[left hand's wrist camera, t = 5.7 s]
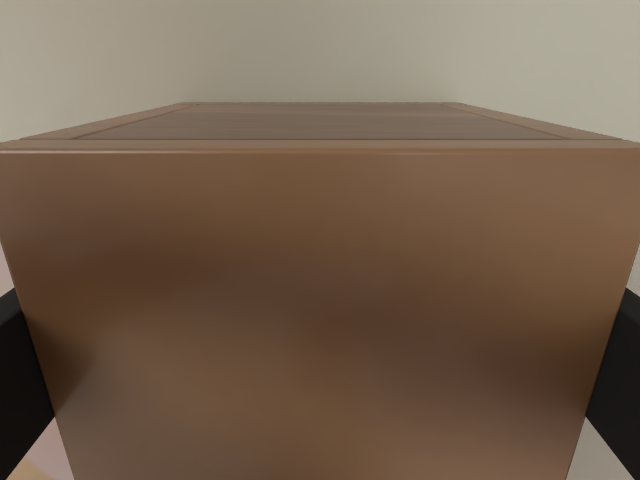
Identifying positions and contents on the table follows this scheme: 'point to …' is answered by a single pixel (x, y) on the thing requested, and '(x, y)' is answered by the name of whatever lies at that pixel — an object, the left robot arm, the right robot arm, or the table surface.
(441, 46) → the table surface
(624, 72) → the table surface
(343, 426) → the cabinet
